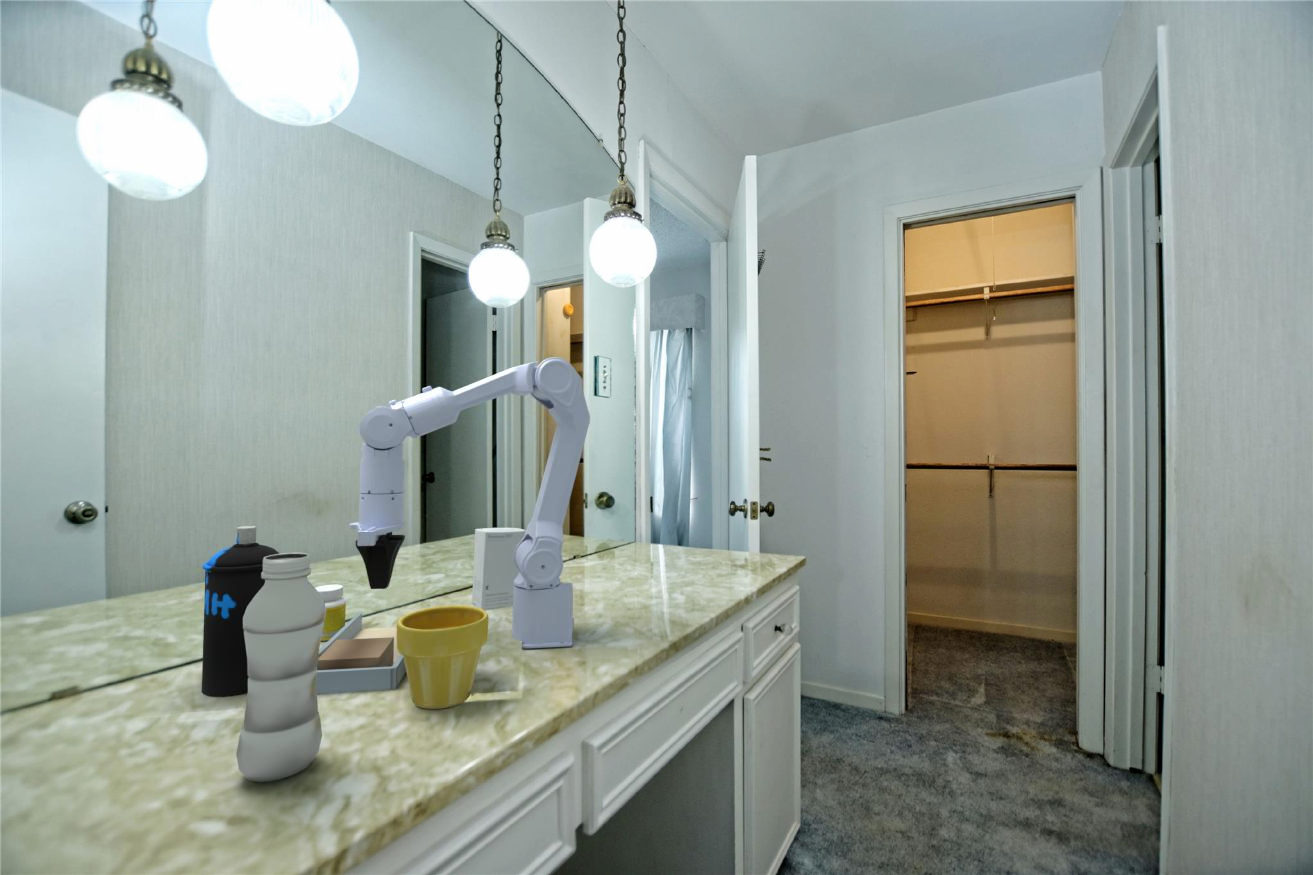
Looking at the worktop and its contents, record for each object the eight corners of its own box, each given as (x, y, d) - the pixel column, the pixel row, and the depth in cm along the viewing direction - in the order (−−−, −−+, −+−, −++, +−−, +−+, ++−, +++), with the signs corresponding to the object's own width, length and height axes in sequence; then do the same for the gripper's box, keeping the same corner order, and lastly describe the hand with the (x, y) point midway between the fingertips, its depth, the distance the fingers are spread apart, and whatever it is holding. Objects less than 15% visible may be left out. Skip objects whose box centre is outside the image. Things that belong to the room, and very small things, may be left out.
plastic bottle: (262, 752, 55) (269, 549, 56) (334, 751, 56) (340, 550, 56) (217, 793, 49) (224, 563, 49) (299, 791, 50) (305, 564, 50)
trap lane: (464, 630, 92) (465, 609, 92) (439, 694, 69) (439, 665, 69) (357, 635, 89) (358, 613, 89) (292, 703, 66) (293, 673, 66)
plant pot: (419, 677, 74) (421, 602, 74) (497, 680, 73) (499, 605, 73) (377, 715, 63) (379, 628, 63) (468, 719, 63) (470, 631, 63)
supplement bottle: (351, 638, 87) (353, 584, 87) (330, 649, 83) (332, 592, 83) (322, 637, 88) (324, 583, 88) (300, 647, 83) (302, 590, 83)
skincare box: (481, 616, 100) (483, 532, 100) (470, 607, 105) (472, 527, 105) (526, 609, 105) (528, 529, 105) (513, 601, 110) (515, 524, 110)
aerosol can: (274, 671, 75) (278, 520, 75) (289, 692, 69) (293, 528, 69) (194, 689, 69) (199, 525, 69) (202, 713, 63) (208, 534, 63)
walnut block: (393, 663, 76) (394, 637, 76) (378, 685, 69) (379, 657, 69) (336, 666, 74) (337, 639, 74) (315, 689, 67) (316, 660, 67)
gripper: (367, 488, 87) (364, 576, 87) (333, 497, 72) (330, 603, 72) (416, 488, 88) (413, 575, 88) (391, 497, 74) (389, 601, 74)
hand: (379, 587), depth 80 cm, fingers closed
